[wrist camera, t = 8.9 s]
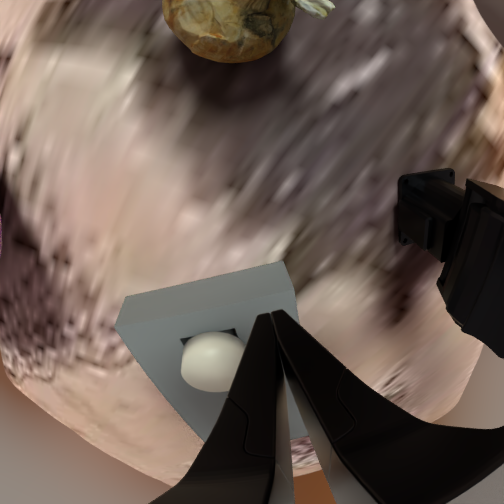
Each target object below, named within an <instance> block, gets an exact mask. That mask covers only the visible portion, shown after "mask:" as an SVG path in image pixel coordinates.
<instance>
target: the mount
mask: <svg viewBox="0 0 504 504" xmlns="http://www.w3.org/2000/svg"><path fill="white" fill-rule="evenodd" d="M279 309H283V310H284V311H286V312H287V313H288V314H289V315H290V316H291V317H292V318H293V319H294V320H295V321H296V322H297V323H298V324H299V318H298V311H297V304H296V298H295V292H294V288H293V285H292V282H291V280H290V277H289V275H288V272H287V270H286V267H285V264H284V262H283V261H279V262H275V263H271V264H266V265H262V266H258V267H254V268H250V269H245V270H241V271H237V272H233V273H228V274H224V275H220V276H216V277H211V278H207V279H203V280H198V281H194V282H190V283H185V284H181V285H176V286H172V287H167V288H163V289H159V290H154V291H150V292H145V293H141V294H136V295H131V296H127V297H125V300H124V303H123V305H122V308H121V310H120V313H119V315H118V318H117V321H116V323H115V326H114V328H115V329H116V331H117V332H118V334H119V335H120V337H121V339H122V340H123V342H124V343H125V344H126V346H127V347H128V349H129V350H130V352H131V353H132V355H133V356H134V358H135V359H136V360H137V362H138V363H139V364H140V366H141V367H142V369H143V370H144V371H145V373H146V374H147V375H148V377H149V378H150V379H151V381H152V382H153V383H154V384H155V386H156V387H157V388H158V390H159V391H160V392H161V393H162V395H163V396H164V397H165V398H166V400H167V401H168V402H169V403H170V404H171V406H172V407H173V408H174V409H175V410H176V411H177V413H178V414H179V415H180V416H181V417H182V418H183V419H184V421H185V422H186V423H187V424H188V425H189V426H190V427H191V428H192V429H193V431H194V432H195V433H196V434H197V435H198V436H199V437H200V438H201V439H202V440H203V441H204V442H206V440H207V438H208V436H209V435H210V433H211V431H212V429H213V427H214V425H215V423H216V421H217V419H218V417H219V414H220V412H221V410H222V407H223V405H224V402H225V399H226V398H227V394H228V392H229V391H225V392H207V391H202V390H199V389H196V388H194V387H192V386H191V385H189V384H188V383H187V382H186V381H185V380H184V379H183V377H182V374H181V365H182V354H183V348H184V345H185V344H186V342H187V341H188V340H189V339H191V338H192V337H194V336H196V335H198V334H201V333H206V332H218V331H223V330H228V329H232V328H235V330H236V333H235V336H236V337H237V338H239V339H240V340H241V341H242V342H243V343H244V344H245V345H246V344H247V341H248V338H249V335H250V333H251V330H252V327H253V324H254V322H255V319H256V316H257V315H258V314H263V313H267V312H269V313H271V312H272V311H275V310H279ZM272 324H273V323H272ZM299 325H300V324H299ZM277 345H278V344H277ZM281 362H282V361H281ZM282 366H283V365H282ZM283 371H284V370H283ZM284 376H285V373H284ZM285 385H286V396H287V407H288V419H289V431H290V440H292V439H296V438H301V437H305V436H309V435H308V432H307V430H306V427H305V425H304V422H303V420H302V417H301V415H300V412H299V410H298V407H297V405H296V402H295V400H294V397H293V395H292V392H291V390H290V387H289V385H288V382H287V379H286V376H285Z"/></svg>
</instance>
